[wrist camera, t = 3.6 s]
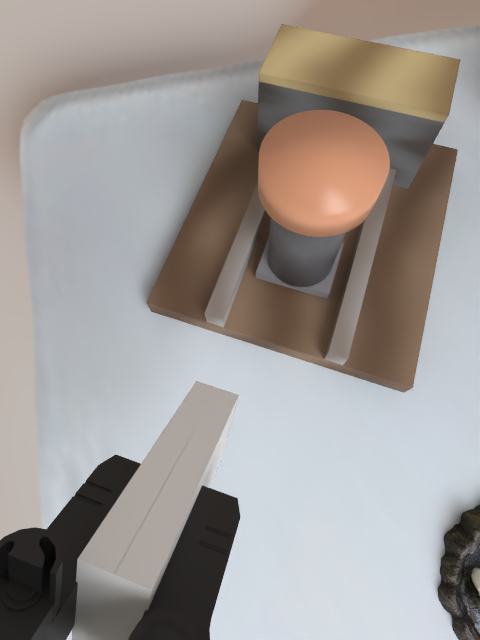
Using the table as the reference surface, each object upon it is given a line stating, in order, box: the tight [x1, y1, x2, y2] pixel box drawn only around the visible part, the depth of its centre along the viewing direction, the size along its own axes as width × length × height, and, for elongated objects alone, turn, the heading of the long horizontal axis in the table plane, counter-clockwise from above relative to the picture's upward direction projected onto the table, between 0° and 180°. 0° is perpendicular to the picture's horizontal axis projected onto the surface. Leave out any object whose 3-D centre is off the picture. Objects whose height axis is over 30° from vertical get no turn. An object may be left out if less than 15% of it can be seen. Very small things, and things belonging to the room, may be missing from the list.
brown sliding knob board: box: [147, 24, 460, 392], centre depth 27 cm, size 18×20×8 cm
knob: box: [256, 110, 390, 299], centre depth 23 cm, size 6×6×10 cm
